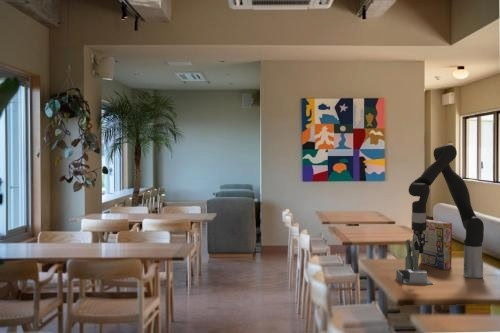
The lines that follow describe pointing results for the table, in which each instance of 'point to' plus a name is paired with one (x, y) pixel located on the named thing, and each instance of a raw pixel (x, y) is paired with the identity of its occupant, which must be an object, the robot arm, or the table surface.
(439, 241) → the board game box
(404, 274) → the grey l-shaped slot base
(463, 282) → the table surface
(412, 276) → the l bracket
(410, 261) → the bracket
